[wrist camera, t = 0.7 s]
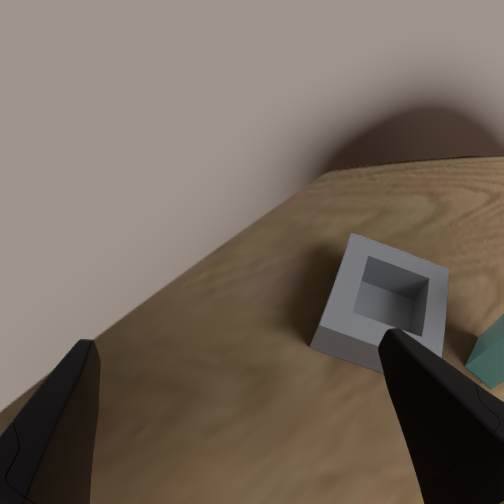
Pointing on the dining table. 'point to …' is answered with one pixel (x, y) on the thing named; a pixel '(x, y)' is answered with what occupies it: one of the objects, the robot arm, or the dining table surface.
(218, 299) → the dining table surface
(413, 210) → the dining table surface
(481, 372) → the plug
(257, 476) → the dining table surface
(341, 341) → the socket
